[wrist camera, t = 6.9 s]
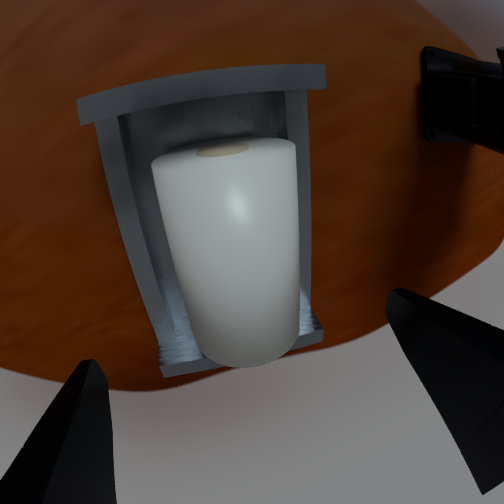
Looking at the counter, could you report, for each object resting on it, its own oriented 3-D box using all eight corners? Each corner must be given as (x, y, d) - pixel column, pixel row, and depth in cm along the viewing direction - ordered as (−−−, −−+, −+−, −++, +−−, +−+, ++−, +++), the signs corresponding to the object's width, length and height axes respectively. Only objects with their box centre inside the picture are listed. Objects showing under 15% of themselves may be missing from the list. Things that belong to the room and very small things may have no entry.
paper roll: (137, 156, 12) (178, 180, 8) (246, 131, 15) (326, 145, 11) (179, 320, 17) (226, 387, 13) (261, 283, 19) (321, 333, 15)
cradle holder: (285, 69, 14) (325, 64, 10) (295, 295, 21) (322, 341, 17) (103, 96, 12) (76, 99, 9) (162, 324, 19) (164, 377, 16)
